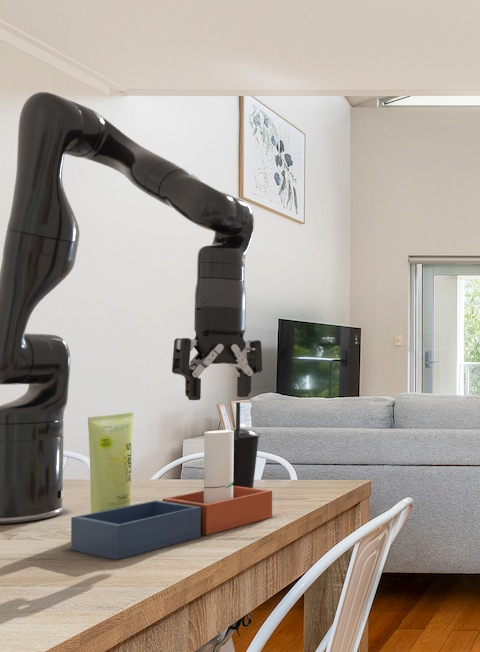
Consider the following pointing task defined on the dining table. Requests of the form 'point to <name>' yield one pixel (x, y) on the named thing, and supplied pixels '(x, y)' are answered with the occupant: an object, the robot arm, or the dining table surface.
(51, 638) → the dining table surface
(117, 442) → the tube
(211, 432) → the tube
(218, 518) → the terracotta bin
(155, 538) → the blue bin
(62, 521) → the dining table surface
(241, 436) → the drinking cup
